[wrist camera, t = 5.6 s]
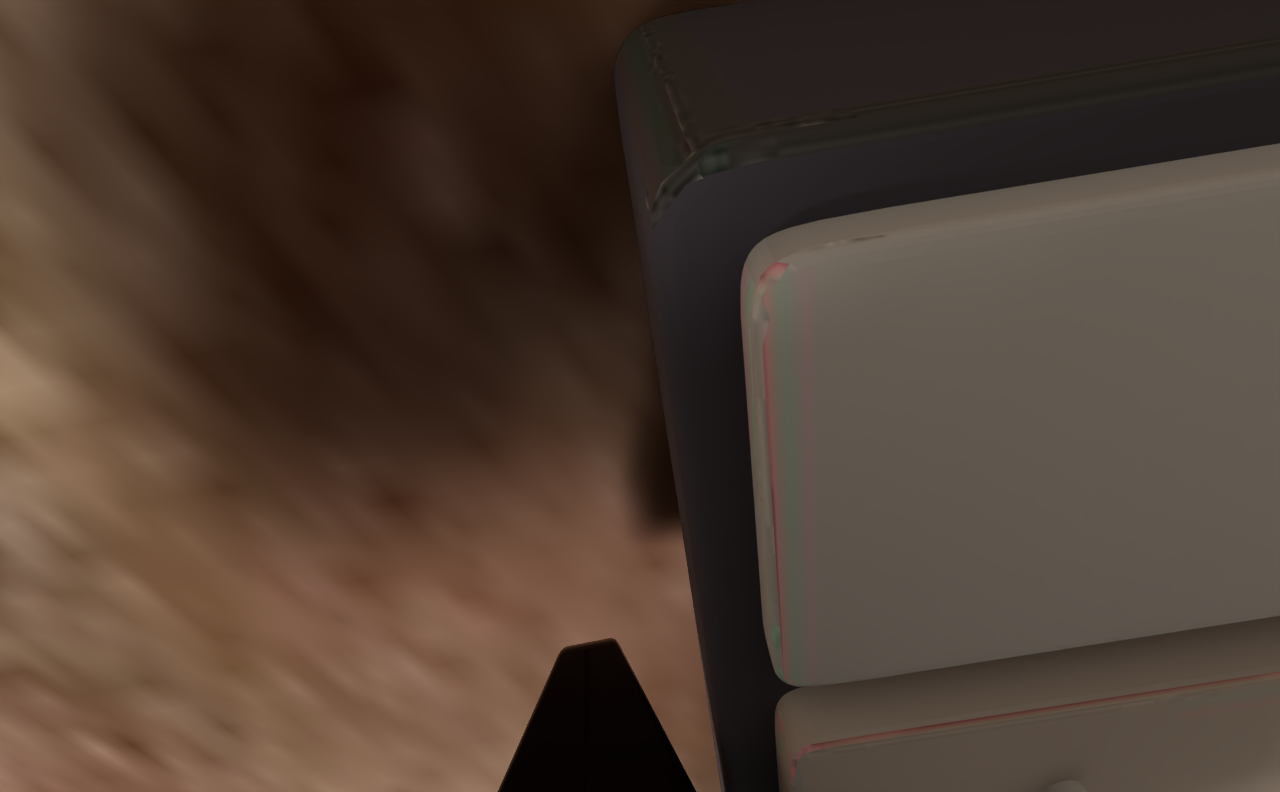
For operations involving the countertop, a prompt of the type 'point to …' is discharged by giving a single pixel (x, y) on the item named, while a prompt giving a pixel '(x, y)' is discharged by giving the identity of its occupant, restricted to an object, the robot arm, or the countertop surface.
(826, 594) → the calculator
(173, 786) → the countertop surface
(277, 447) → the countertop surface
